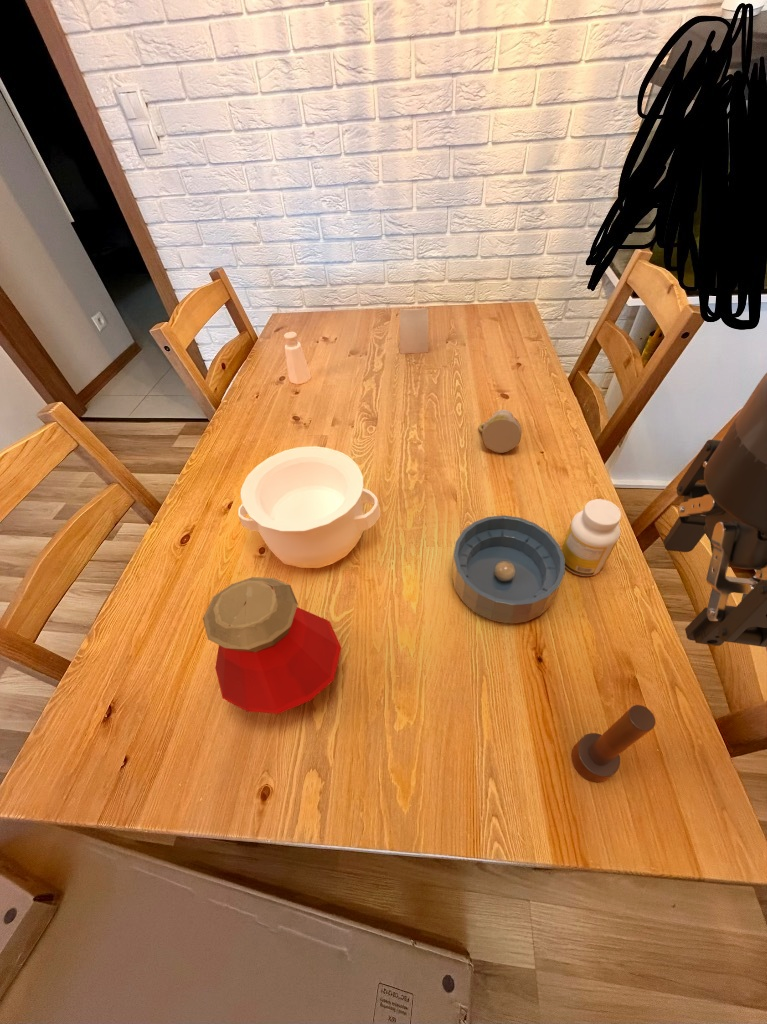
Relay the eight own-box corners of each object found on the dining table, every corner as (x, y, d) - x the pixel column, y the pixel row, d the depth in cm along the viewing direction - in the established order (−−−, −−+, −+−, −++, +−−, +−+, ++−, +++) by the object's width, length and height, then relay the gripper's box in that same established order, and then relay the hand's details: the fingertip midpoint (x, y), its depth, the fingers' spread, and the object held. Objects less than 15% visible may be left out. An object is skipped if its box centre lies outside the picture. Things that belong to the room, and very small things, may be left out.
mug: (518, 422, 93) (535, 401, 84) (504, 465, 92) (520, 449, 82) (483, 410, 94) (496, 388, 84) (468, 452, 92) (480, 435, 82)
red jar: (342, 621, 66) (320, 537, 51) (351, 718, 58) (328, 650, 43) (233, 638, 66) (178, 558, 51) (225, 739, 57) (156, 678, 42)
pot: (380, 494, 83) (375, 441, 73) (384, 575, 71) (379, 525, 62) (259, 502, 83) (239, 451, 74) (243, 584, 72) (217, 536, 62)
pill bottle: (593, 541, 73) (617, 491, 64) (609, 576, 69) (637, 527, 60) (553, 545, 73) (571, 495, 64) (566, 580, 69) (587, 531, 60)
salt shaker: (316, 377, 108) (307, 333, 100) (297, 387, 106) (286, 343, 98) (302, 369, 111) (293, 325, 103) (284, 378, 109) (272, 334, 100)
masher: (616, 753, 53) (673, 708, 41) (606, 791, 51) (664, 754, 39) (577, 732, 55) (622, 683, 43) (566, 768, 53) (610, 726, 41)
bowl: (568, 563, 71) (578, 539, 66) (534, 644, 63) (543, 623, 58) (476, 526, 76) (480, 502, 72) (434, 596, 68) (435, 574, 64)
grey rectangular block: (428, 352, 112) (428, 312, 105) (400, 353, 113) (399, 313, 105) (427, 344, 115) (428, 305, 107) (400, 345, 115) (399, 306, 108)
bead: (516, 573, 69) (520, 562, 67) (509, 588, 67) (512, 577, 65) (497, 565, 70) (500, 553, 68) (490, 579, 69) (492, 568, 66)
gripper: (976, 547, 20) (766, 682, 33) (837, 368, 29) (714, 527, 42) (785, 527, 22) (652, 665, 34) (708, 362, 31) (625, 518, 43)
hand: (686, 589), depth 38 cm, fingers open, 8 cm apart
